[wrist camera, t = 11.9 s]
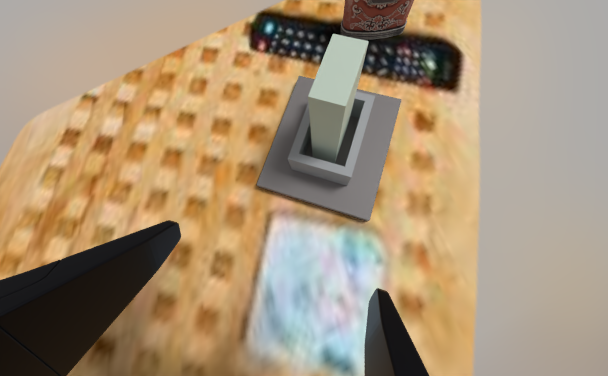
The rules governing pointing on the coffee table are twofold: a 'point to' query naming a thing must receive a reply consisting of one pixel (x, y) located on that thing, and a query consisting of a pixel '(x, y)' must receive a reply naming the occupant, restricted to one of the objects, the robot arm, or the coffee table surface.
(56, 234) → the coffee table surface
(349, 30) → the lighter
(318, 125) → the pale green rectangular block
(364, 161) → the grey socket base
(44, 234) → the coffee table surface
